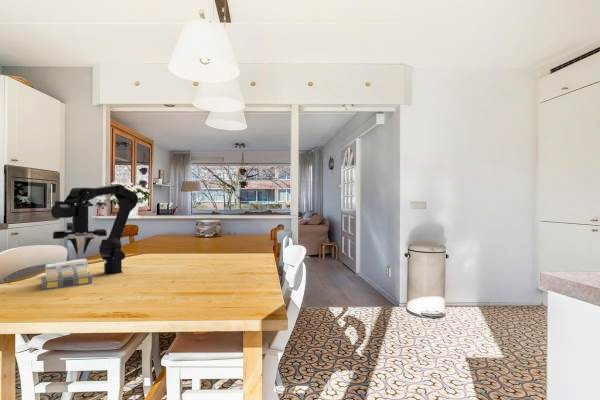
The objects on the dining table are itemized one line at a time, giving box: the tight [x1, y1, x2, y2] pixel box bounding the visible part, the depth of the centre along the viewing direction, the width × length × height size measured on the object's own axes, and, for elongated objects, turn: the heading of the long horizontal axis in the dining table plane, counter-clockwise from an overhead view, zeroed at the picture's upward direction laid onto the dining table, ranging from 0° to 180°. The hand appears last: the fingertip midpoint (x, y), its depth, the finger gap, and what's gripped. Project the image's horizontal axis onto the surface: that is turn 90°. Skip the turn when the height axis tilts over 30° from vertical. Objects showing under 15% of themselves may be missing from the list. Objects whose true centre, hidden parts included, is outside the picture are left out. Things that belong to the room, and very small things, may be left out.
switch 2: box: [60, 265, 73, 278], centre depth 136 cm, size 4×9×1 cm, turn 39°
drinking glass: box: [45, 258, 89, 274], centre depth 151 cm, size 7×7×15 cm
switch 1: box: [44, 266, 58, 280], centre depth 133 cm, size 4×9×1 cm, turn 39°
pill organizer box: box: [40, 271, 93, 291], centre depth 136 cm, size 16×12×3 cm
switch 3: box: [75, 264, 89, 276], centre depth 139 cm, size 4×9×1 cm, turn 39°
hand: (80, 254), depth 142 cm, fingers closed
